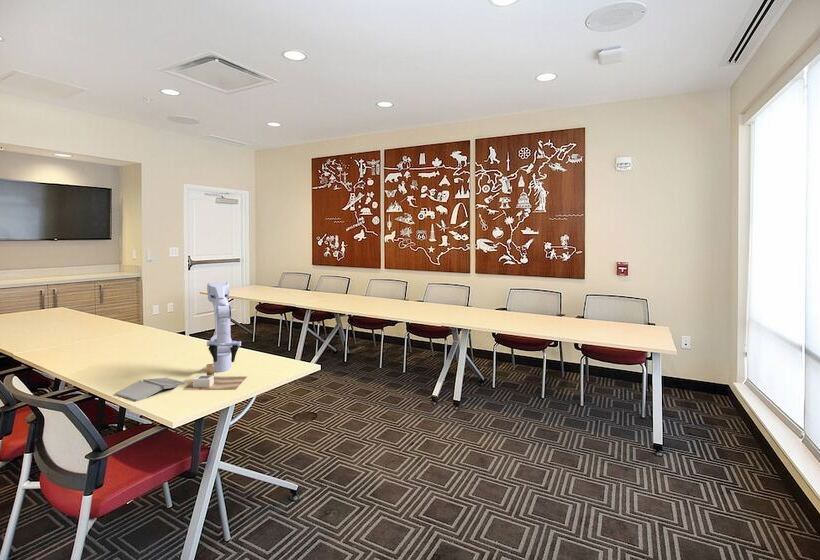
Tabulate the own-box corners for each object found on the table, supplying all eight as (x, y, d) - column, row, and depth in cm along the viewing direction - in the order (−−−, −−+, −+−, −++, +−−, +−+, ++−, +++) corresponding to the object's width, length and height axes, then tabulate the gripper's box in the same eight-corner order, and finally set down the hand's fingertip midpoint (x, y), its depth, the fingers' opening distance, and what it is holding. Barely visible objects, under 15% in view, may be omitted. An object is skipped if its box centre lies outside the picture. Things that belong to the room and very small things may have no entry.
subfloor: (198, 379, 208) (198, 376, 208) (247, 378, 209) (247, 376, 209) (182, 392, 190) (182, 389, 190) (235, 392, 192) (235, 389, 191)
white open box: (197, 383, 198) (197, 375, 198) (213, 383, 199) (213, 375, 198) (193, 387, 193) (192, 378, 193) (209, 387, 194) (209, 378, 194)
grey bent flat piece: (136, 403, 179) (135, 394, 179) (114, 396, 186) (113, 387, 186) (187, 386, 199) (187, 378, 199) (166, 380, 206) (166, 372, 206)
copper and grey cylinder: (208, 378, 205) (208, 363, 204) (215, 378, 205) (215, 363, 204) (205, 380, 201) (205, 365, 201) (212, 381, 202) (212, 366, 201)
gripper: (203, 334, 198) (204, 364, 199) (237, 334, 199) (238, 364, 200) (209, 330, 205) (210, 359, 206) (242, 330, 206) (242, 359, 207)
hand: (224, 361), depth 204 cm, fingers open, 7 cm apart
